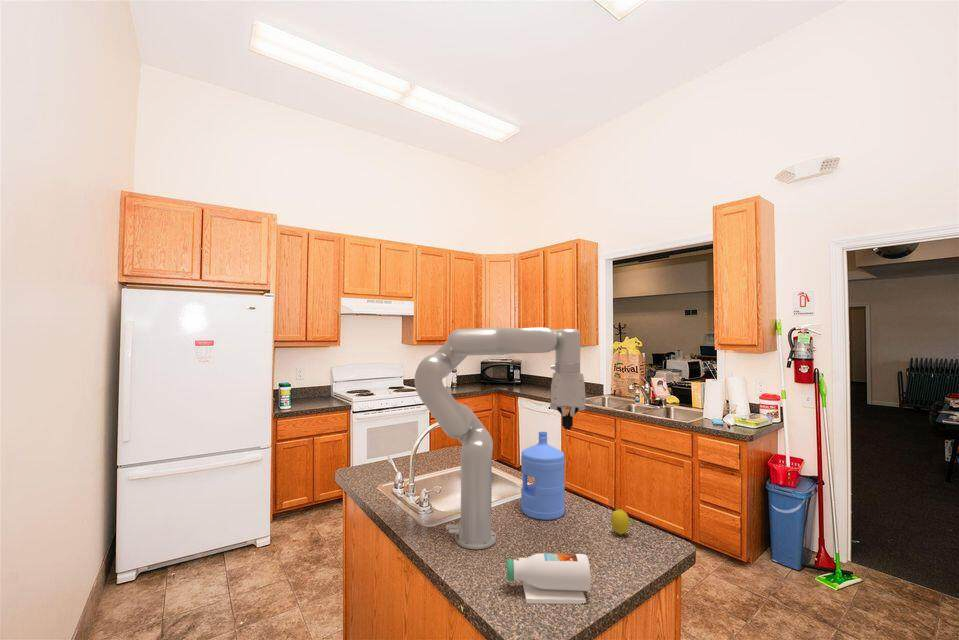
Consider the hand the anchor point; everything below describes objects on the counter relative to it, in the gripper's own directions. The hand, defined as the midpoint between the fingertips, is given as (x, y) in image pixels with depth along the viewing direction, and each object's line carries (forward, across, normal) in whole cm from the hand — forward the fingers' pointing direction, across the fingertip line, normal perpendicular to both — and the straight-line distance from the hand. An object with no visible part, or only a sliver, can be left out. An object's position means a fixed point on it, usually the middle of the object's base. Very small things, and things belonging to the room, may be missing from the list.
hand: (567, 428), depth 125 cm
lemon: (+35, +18, +7) cm, 40 cm away
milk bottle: (+30, +1, -24) cm, 38 cm away
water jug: (+35, -4, +23) cm, 42 cm away
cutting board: (+35, -8, -19) cm, 40 cm away
